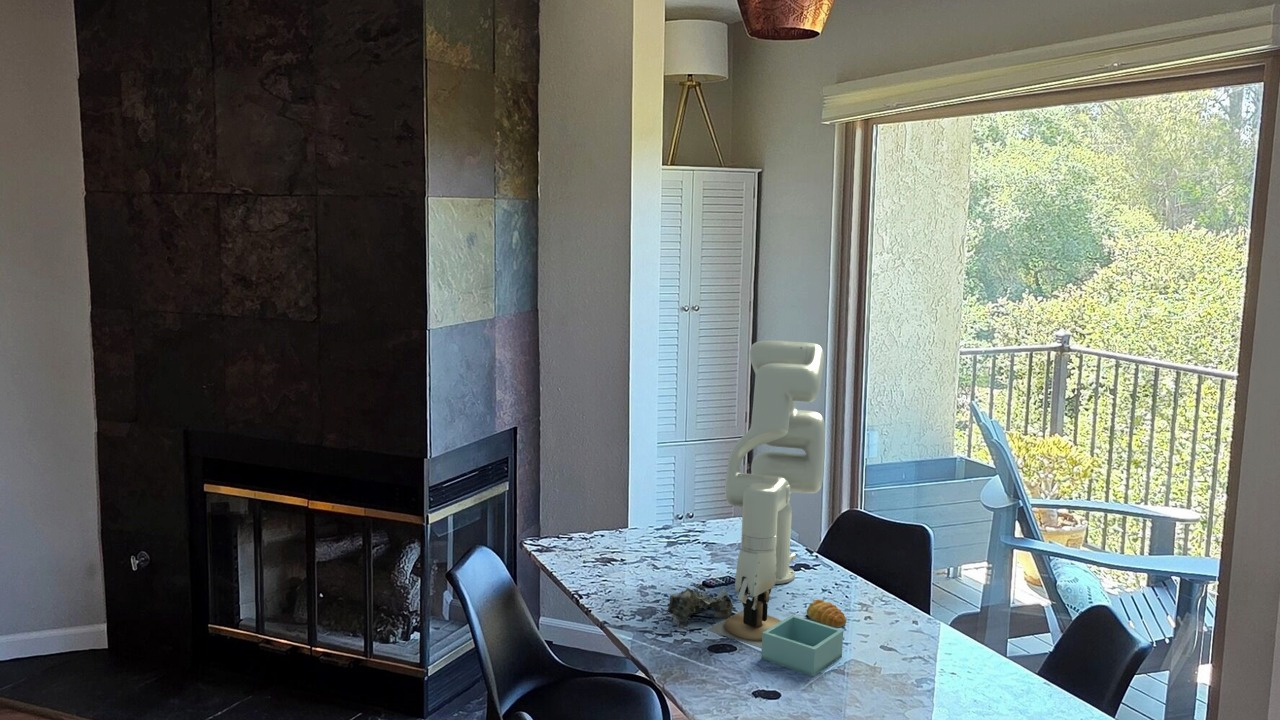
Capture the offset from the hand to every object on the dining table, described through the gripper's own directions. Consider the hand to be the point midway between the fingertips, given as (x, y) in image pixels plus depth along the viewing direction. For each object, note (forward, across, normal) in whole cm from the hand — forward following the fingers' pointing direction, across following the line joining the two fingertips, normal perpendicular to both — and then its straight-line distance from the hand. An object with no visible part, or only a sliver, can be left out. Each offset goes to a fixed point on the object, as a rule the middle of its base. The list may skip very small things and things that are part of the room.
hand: (755, 621), depth 225 cm
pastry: (+3, -16, +9) cm, 18 cm away
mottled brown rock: (+2, +3, -13) cm, 13 cm away
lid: (+2, 0, 0) cm, 2 cm away
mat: (+2, 0, 0) cm, 2 cm away
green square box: (+2, +6, +15) cm, 16 cm away
